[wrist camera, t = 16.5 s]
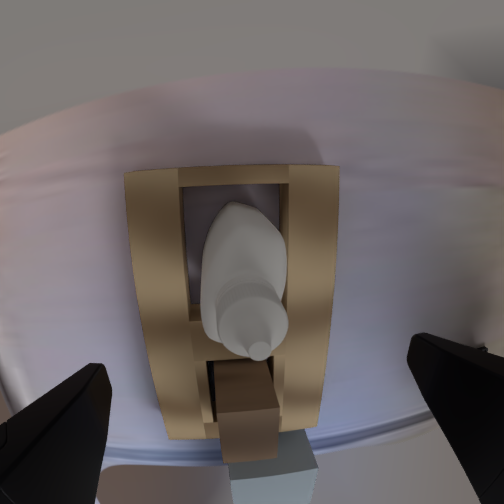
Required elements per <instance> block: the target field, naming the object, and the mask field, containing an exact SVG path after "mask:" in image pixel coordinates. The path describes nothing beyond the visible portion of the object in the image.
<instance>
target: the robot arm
mask: <svg viewBox="0 0 504 504" xmlns="http://www.w3.org/2000/svg"><path fill="white" fill-rule="evenodd" d="M487 351H488V348H486V347H485V346H484V347H481V348H479V349H475V348H472V347H469V346H465V345H462V344H459V343H456V342H453V341H450V340H447V339H444V338H441V337H437V336H434V335H431V334H428V333H419V334H415V335H413V337H412V338H411V342H410V346H409V350H408V354H407V363H408V366H409V368H410V370H411V372H412V374H413V376H414V379H415V381H416V383H417V385H418V387H419V389H420V391H421V394H422V396H423V398H424V400H425V402H426V403H427V405H428V407H429V409H430V410H431V412H432V414H433V415H434V417H435V419H436V421H437V422H438V424H439V426H440V428H441V429H442V431H443V433H444V434H445V436H446V438H447V440H448V442H449V443H450V445H451V447H452V449H453V451H454V452H455V454H456V456H457V458H458V460H459V461H460V464H461V466H462V467H463V469H464V471H465V473H466V475H467V477H468V479H469V481H470V483H471V485H472V486H473V489H474V491H475V492H476V494H477V496H478V498H479V501H480V503H481V504H504V357H500V356H497V355H494V354H491V353H488V352H487ZM111 399H112V387H111V384H110V380H109V377H108V374H107V371H106V368H105V366H104V365H103V364H102V363H89V364H88V365H86V366H85V367H83V368H82V369H80V370H79V371H77V372H76V373H75V374H73V375H72V376H70V377H69V378H67V379H66V380H64V381H63V382H62V383H60V384H59V385H57V386H56V387H54V388H53V389H51V390H50V391H49V392H47V393H46V394H44V395H43V396H41V397H40V398H38V399H37V400H36V401H34V402H33V403H31V404H30V405H28V406H27V407H25V408H24V409H23V410H21V411H20V412H18V413H17V414H15V415H14V416H12V417H11V418H10V419H8V420H7V422H4V423H2V424H1V425H0V504H95V498H96V492H97V487H98V481H99V476H100V471H101V466H102V461H103V456H104V451H105V447H106V441H107V435H108V426H109V416H110V407H111Z"/></svg>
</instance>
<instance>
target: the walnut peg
mask: <svg viewBox="0 0 504 504" xmlns="http://www.w3.org/2000/svg"><path fill="white" fill-rule="evenodd" d="M214 379H215V396H216V412H217V420H218V428H219V436H220V443H221V451H222V458H223V463H235V462H247V461H257V460H265V459H273V458H277V452H278V436H279V419H280V406H279V402H278V399H277V396H276V392H275V389H274V385H273V382H272V379H271V375H270V372H269V369H268V365H267V362H266V359H265V360H262V361H256V360H253V359H251V358H242V359H229V360H214Z"/></svg>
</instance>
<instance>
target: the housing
mask: <svg viewBox="0 0 504 504" xmlns="http://www.w3.org/2000/svg"><path fill="white" fill-rule="evenodd" d="M228 466H229V475H230V483H231V490H232V496H233V502H234V504H310V500H311V497H312V493H313V489H314V485H315V481H316V477H317V472H318V465H317V463H316V460H315V457H314V454H313V451H312V449H311V446H310V443H309V441H308V438H307V435H306V432H305V430H304V429H299V430H292V431H285V432H279V436H278V452H277V458H273V459H265V460H257V461H247V462H235V463H228Z"/></svg>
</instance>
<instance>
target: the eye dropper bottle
mask: <svg viewBox="0 0 504 504" xmlns="http://www.w3.org/2000/svg"><path fill="white" fill-rule="evenodd" d="M286 274H287V256H286V247H285V242H284V239H283V237H282V235H281V234H280V232H279V231H278V230H277V229H276V228H275V226H274V225H273V224H272V223H271V222H270V221H269V220H268V219H267V218H266V217H265V216H264V215H263V214H262V213H261V212H260V211H259V210H258V209H257V208H255V207H252V206H249V205H245V204H242V203H238V202H229V203H227V204H226V205H225V206H224V207H223V208H222V209H221V210H220V212H219V213H218V214H217V216H216V217H215V219H214V221H213V222H212V224H211V226H210V229H209V231H208V233H207V236H206V239H205V243H204V248H203V257H202V275H201V299H200V307H201V318H202V324H203V328H204V331H205V333H206V334H207V336H208V337H209V338H210V339H212V340H214V341H216V342H220V343H223V345H224V346H225V347H226V348H227V349H228V350H230V351H231V352H234V354H237V355H240V356H246V357H250V358H251V359H253V360H256V361H262V360H265V359H266V358H268V357H269V356H270V354H271V351H272V350H274V349H275V348H277V346H279V345H280V343H282V341H283V340H284V338H285V337H286V336H285V335H286V334H287V333H286V332H287V331H288V324H289V323H288V321H289V320H288V316H287V313H286V311H285V309H284V307H283V305H282V303H281V299H282V296H283V292H284V288H285V283H286Z"/></svg>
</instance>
